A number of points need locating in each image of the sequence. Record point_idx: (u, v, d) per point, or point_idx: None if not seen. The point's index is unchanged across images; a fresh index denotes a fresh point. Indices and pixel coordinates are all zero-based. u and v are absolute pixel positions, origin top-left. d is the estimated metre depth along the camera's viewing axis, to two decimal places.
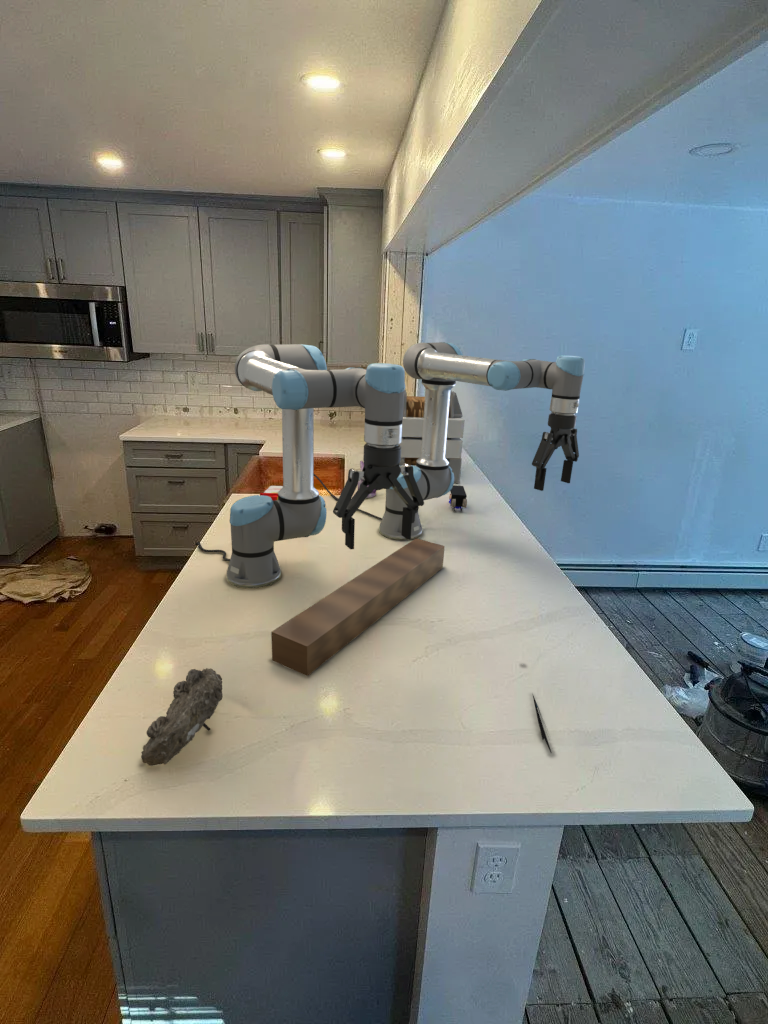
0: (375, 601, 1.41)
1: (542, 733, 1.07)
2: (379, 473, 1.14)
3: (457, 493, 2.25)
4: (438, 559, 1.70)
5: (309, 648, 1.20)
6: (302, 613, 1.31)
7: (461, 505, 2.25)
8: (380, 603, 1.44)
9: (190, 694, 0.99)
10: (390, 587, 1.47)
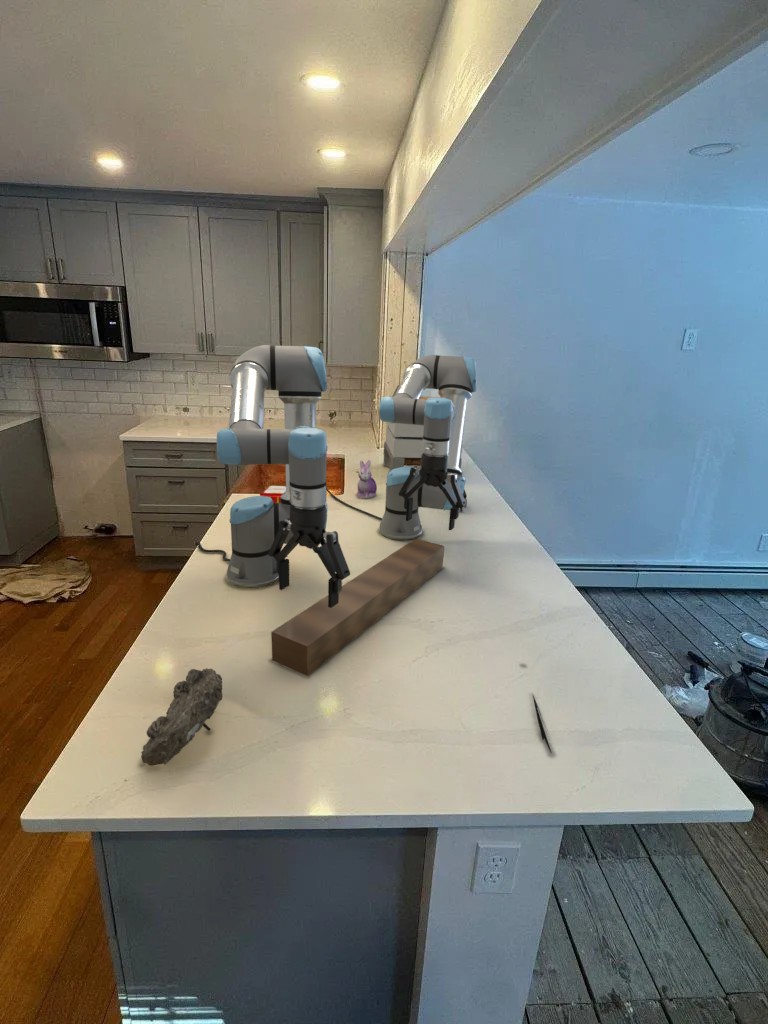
0: (375, 601, 1.41)
1: (542, 733, 1.07)
2: (300, 530, 1.18)
3: None
4: (438, 559, 1.70)
5: (309, 648, 1.20)
6: (302, 613, 1.31)
7: None
8: (380, 603, 1.44)
9: (190, 694, 0.99)
10: (390, 587, 1.47)
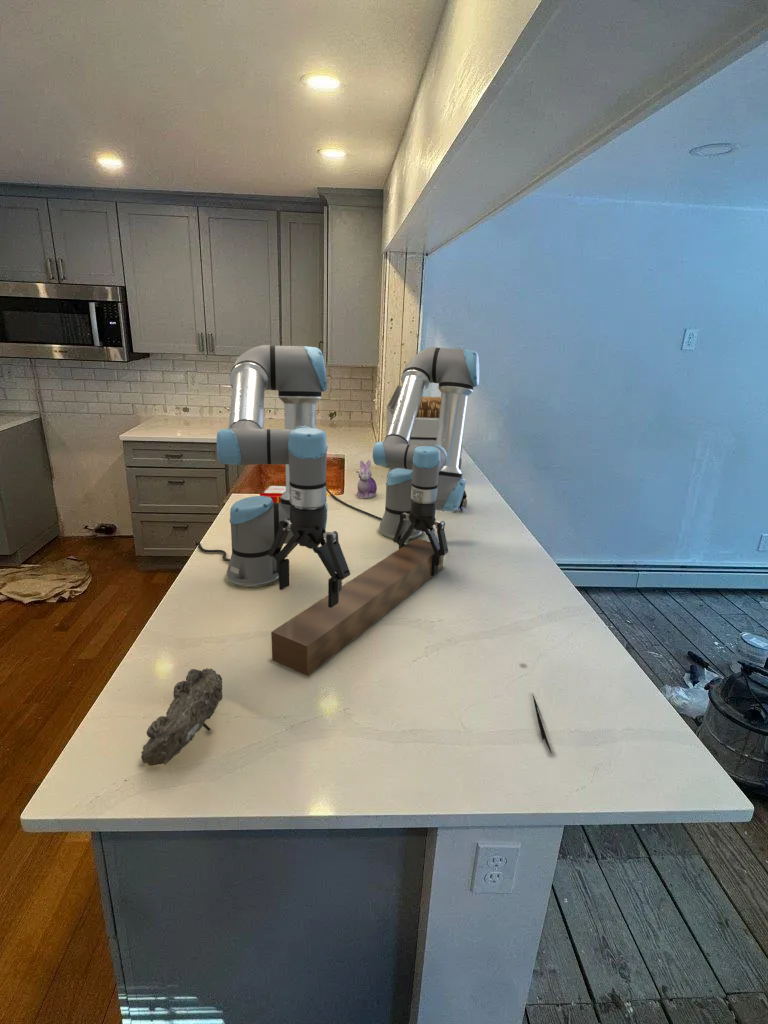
0: (375, 601, 1.41)
1: (542, 733, 1.07)
2: (300, 530, 1.18)
3: None
4: None
5: (309, 648, 1.20)
6: (302, 613, 1.31)
7: (461, 505, 2.25)
8: (380, 603, 1.44)
9: (190, 694, 0.99)
10: (390, 587, 1.47)
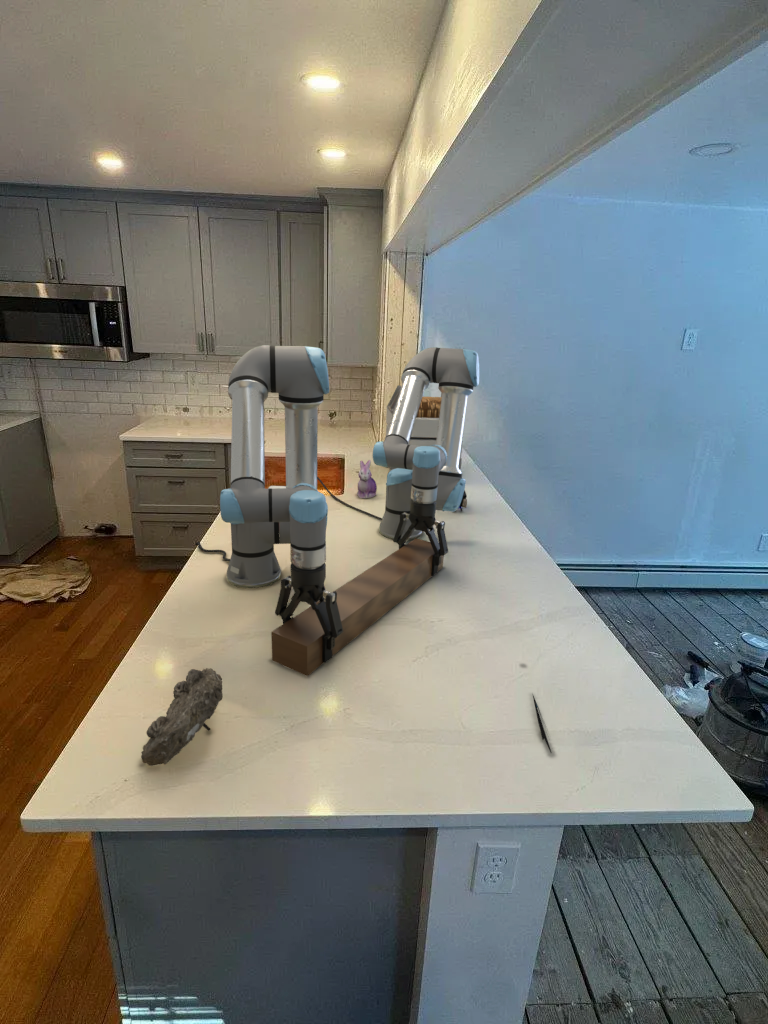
0: (375, 601, 1.41)
1: (542, 733, 1.07)
2: (300, 587, 1.23)
3: None
4: None
5: (309, 648, 1.20)
6: (302, 613, 1.31)
7: (461, 505, 2.25)
8: (380, 603, 1.44)
9: (190, 694, 0.99)
10: (390, 587, 1.47)
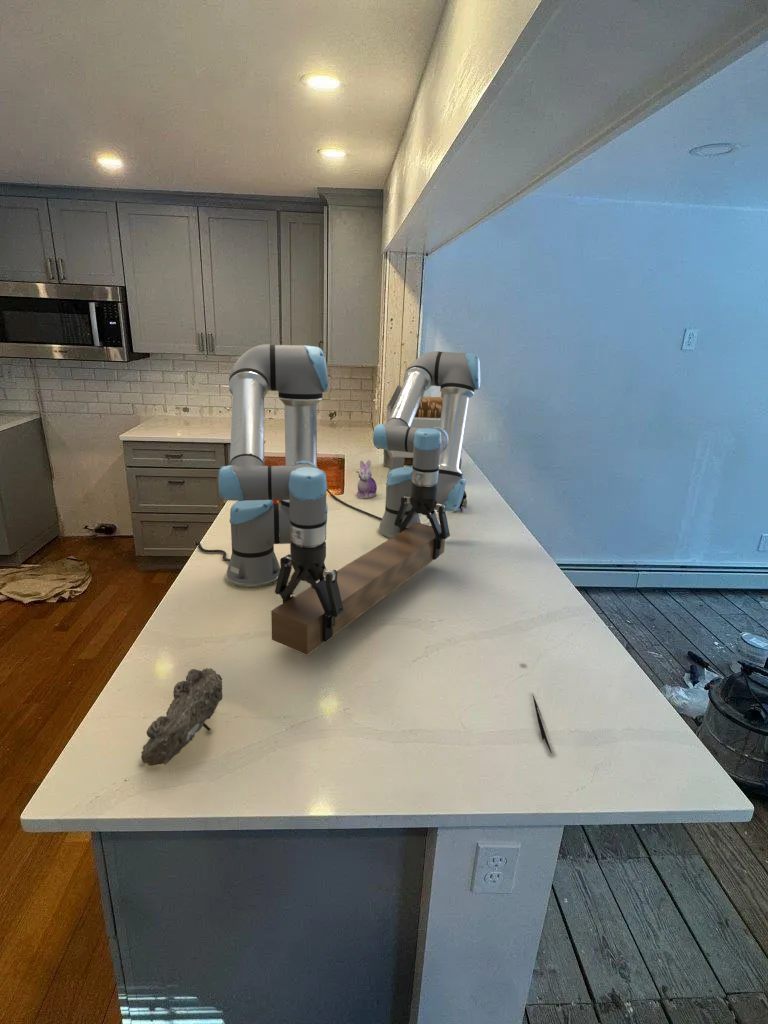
0: (376, 583, 1.40)
1: (542, 733, 1.07)
2: (300, 565, 1.21)
3: None
4: None
5: (309, 626, 1.19)
6: (302, 593, 1.30)
7: (461, 505, 2.25)
8: (381, 585, 1.42)
9: (190, 694, 0.99)
10: (391, 568, 1.45)
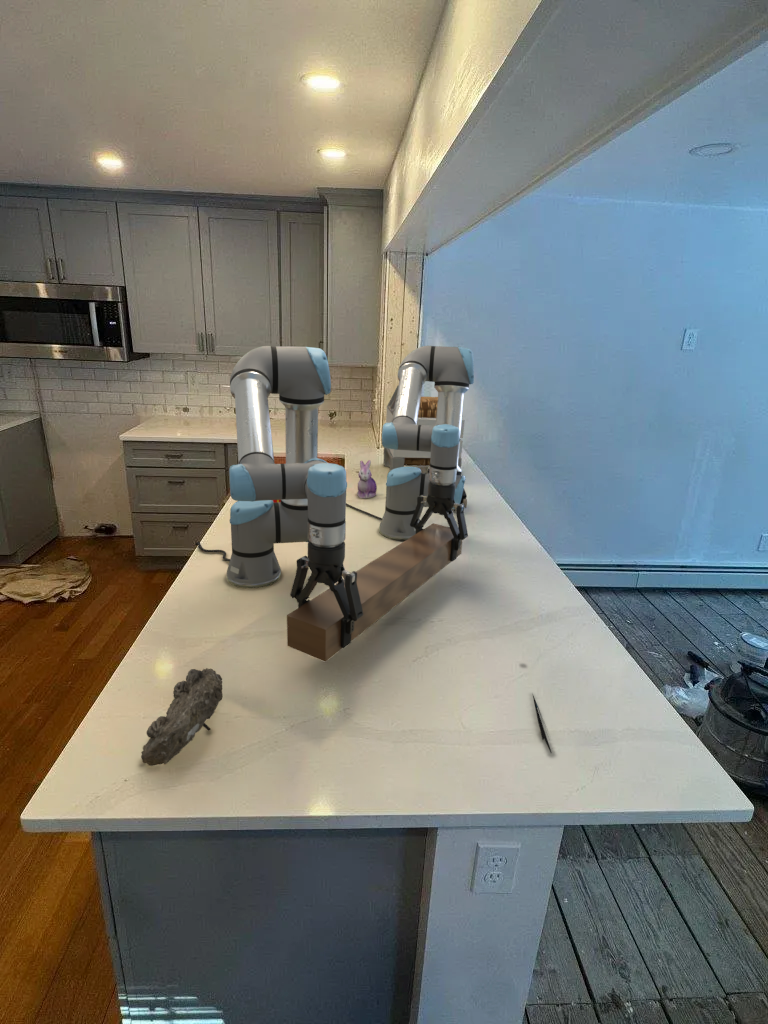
0: (395, 585, 1.34)
1: (542, 733, 1.07)
2: (317, 567, 1.16)
3: None
4: None
5: (328, 631, 1.12)
6: (318, 596, 1.24)
7: None
8: (399, 588, 1.36)
9: (190, 694, 0.99)
10: (409, 570, 1.39)
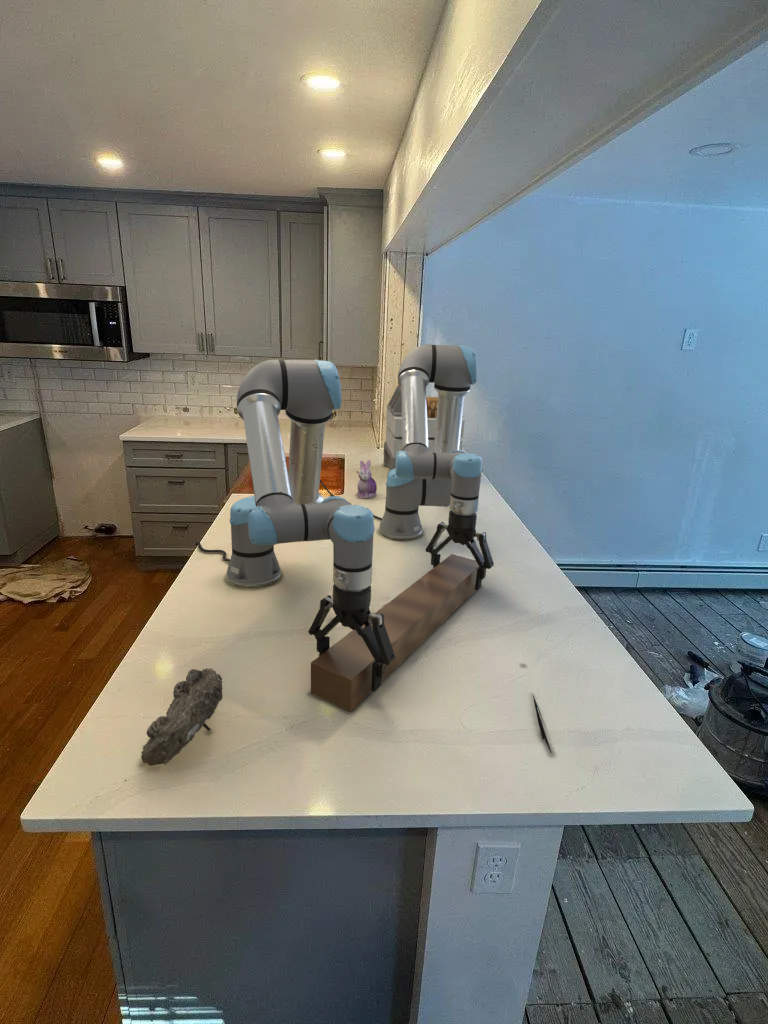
0: (418, 626, 1.31)
1: (542, 733, 1.07)
2: (343, 610, 1.12)
3: None
4: None
5: (353, 681, 1.09)
6: (341, 640, 1.21)
7: None
8: (422, 628, 1.33)
9: (190, 694, 0.99)
10: (432, 609, 1.36)
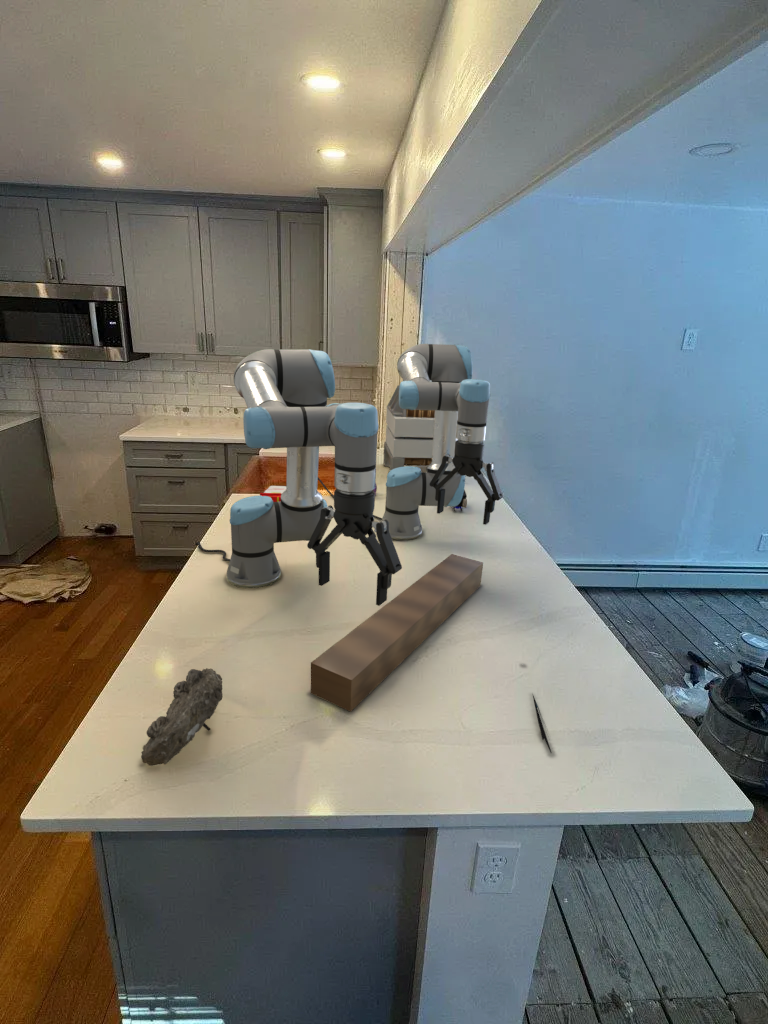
0: (418, 626, 1.31)
1: (542, 733, 1.07)
2: (345, 518, 1.05)
3: None
4: (477, 576, 1.60)
5: (353, 681, 1.09)
6: (341, 640, 1.21)
7: (461, 505, 2.25)
8: (422, 628, 1.33)
9: (190, 694, 0.99)
10: (432, 609, 1.36)
